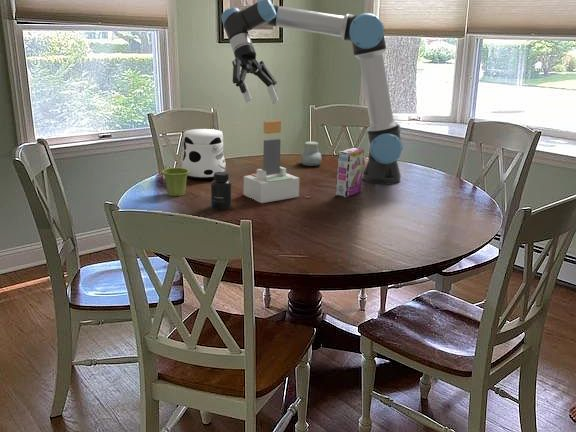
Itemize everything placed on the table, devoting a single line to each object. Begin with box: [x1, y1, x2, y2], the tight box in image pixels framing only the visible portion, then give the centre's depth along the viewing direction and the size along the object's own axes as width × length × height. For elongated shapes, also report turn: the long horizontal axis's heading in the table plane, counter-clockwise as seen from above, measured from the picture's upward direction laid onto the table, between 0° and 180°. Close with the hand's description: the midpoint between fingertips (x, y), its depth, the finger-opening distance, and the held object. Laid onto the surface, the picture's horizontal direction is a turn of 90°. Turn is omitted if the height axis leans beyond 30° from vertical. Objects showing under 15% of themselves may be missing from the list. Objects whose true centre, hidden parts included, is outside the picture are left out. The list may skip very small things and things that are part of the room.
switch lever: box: [262, 119, 282, 175], centre depth 209 cm, size 2×6×19 cm, turn 124°
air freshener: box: [300, 141, 322, 167], centre depth 262 cm, size 11×8×10 cm
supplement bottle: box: [210, 171, 232, 211], centre depth 198 cm, size 7×7×12 cm
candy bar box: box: [335, 147, 365, 198], centre depth 217 cm, size 11×5×16 cm, turn 145°
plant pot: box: [162, 167, 189, 197], centre depth 213 cm, size 9×9×9 cm
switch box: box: [243, 165, 300, 204], centre depth 213 cm, size 12×16×10 cm
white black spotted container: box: [181, 128, 226, 180], centre depth 236 cm, size 17×17×18 cm
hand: (262, 101), depth 211 cm, fingers open, 13 cm apart
